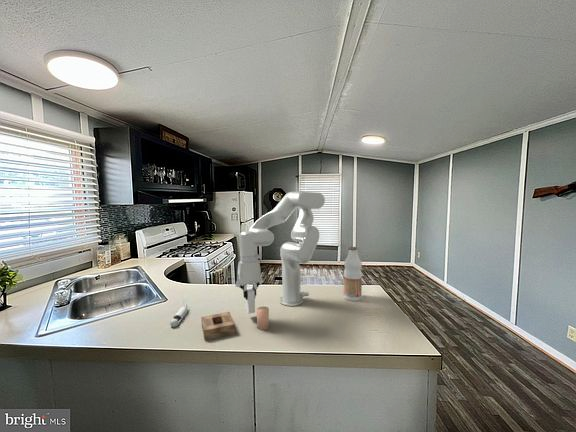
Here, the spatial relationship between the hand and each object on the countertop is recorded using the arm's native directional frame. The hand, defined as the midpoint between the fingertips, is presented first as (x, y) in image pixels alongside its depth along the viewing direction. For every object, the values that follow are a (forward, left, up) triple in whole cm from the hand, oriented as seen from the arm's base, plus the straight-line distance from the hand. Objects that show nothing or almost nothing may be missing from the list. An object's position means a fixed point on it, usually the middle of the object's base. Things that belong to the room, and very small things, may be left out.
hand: (250, 297), depth 116 cm
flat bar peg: (0, 0, -6) cm, 6 cm away
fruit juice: (-57, +1, -10) cm, 58 cm away
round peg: (-3, +10, -10) cm, 14 cm away
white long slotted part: (+29, -14, -10) cm, 34 cm away
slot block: (+15, +4, -10) cm, 18 cm away
